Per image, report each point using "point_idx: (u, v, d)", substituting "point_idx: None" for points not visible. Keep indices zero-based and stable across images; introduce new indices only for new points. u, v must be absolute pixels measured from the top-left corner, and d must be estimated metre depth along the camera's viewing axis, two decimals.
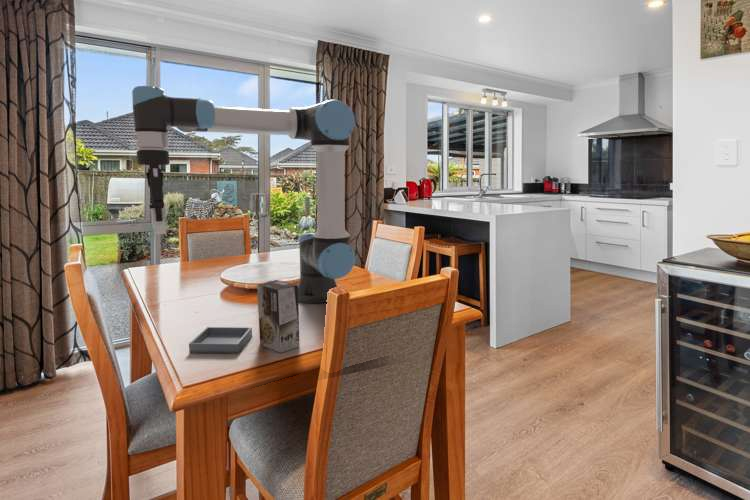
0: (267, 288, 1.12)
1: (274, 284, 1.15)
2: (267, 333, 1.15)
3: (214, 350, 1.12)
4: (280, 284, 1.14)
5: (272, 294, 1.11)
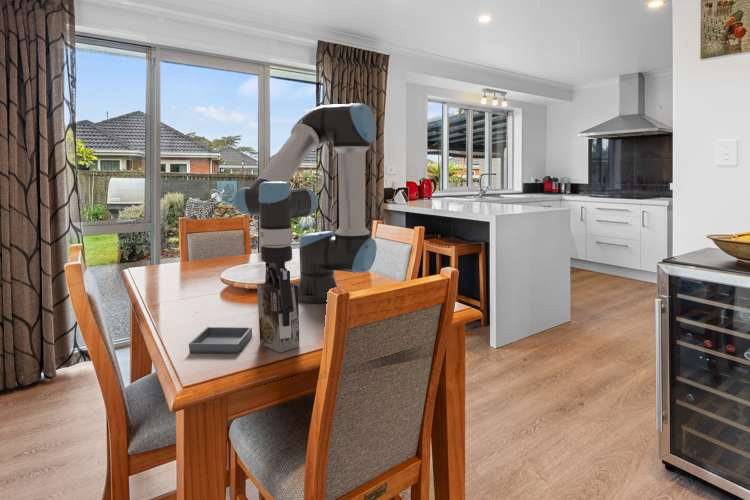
0: (267, 288, 1.12)
1: None
2: (267, 333, 1.15)
3: (214, 350, 1.12)
4: None
5: (272, 294, 1.11)
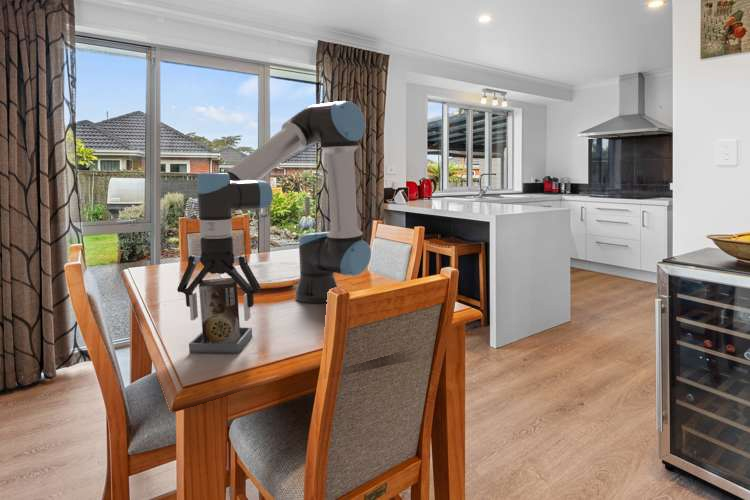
0: (219, 285, 1.12)
1: (216, 281, 1.14)
2: (219, 331, 1.14)
3: (214, 350, 1.12)
4: (221, 280, 1.15)
5: (228, 289, 1.13)
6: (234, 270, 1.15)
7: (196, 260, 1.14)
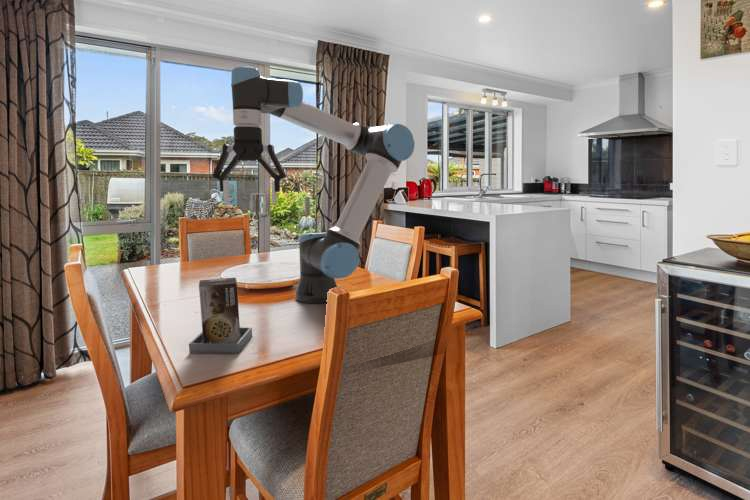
0: (219, 285, 1.12)
1: (216, 282, 1.14)
2: (219, 331, 1.14)
3: (214, 350, 1.12)
4: (221, 280, 1.15)
5: (228, 289, 1.13)
6: (263, 158, 1.29)
7: (229, 148, 1.28)
